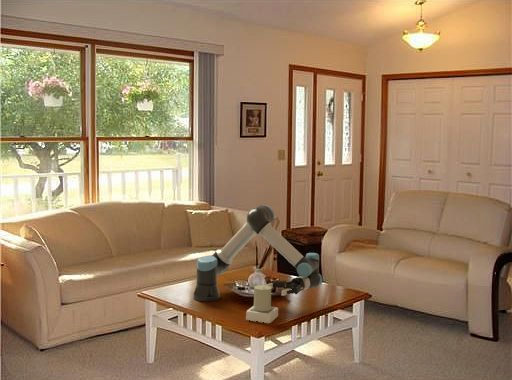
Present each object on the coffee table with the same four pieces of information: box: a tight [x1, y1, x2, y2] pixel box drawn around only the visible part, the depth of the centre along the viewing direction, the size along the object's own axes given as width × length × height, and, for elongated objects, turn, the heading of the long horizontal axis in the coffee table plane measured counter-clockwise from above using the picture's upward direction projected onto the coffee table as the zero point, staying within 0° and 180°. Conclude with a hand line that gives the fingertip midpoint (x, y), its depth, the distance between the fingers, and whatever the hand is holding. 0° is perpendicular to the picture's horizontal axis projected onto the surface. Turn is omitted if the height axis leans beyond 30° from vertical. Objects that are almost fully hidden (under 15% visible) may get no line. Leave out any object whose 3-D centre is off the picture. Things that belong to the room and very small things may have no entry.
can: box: [253, 284, 272, 311], centre depth 327 cm, size 9×9×12 cm
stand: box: [245, 305, 279, 324], centre depth 328 cm, size 13×13×5 cm
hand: (272, 290), depth 331 cm, fingers open, 13 cm apart
